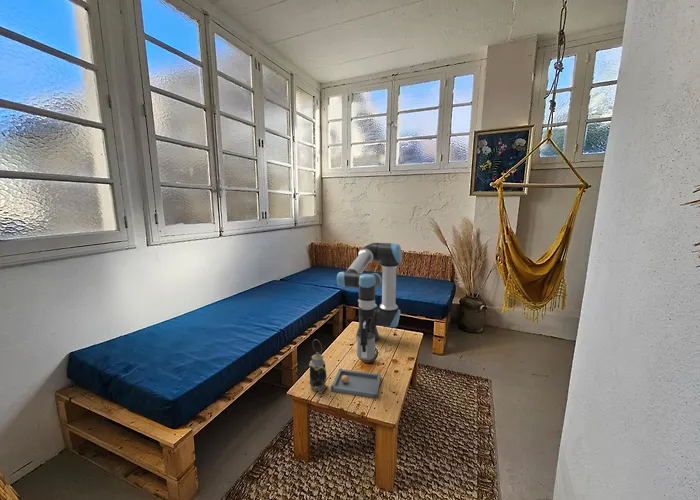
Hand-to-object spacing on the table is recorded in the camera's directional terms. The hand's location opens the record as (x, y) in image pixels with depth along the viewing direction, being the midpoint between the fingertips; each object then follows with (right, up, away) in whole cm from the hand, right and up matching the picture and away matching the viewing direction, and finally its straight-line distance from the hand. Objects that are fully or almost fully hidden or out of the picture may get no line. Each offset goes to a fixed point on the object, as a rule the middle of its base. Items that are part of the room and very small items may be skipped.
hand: (365, 352), depth 137 cm
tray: (-4, -18, +4) cm, 19 cm away
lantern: (-23, -18, +3) cm, 30 cm away
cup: (0, -1, 0) cm, 2 cm away
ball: (-10, -17, +6) cm, 20 cm away
